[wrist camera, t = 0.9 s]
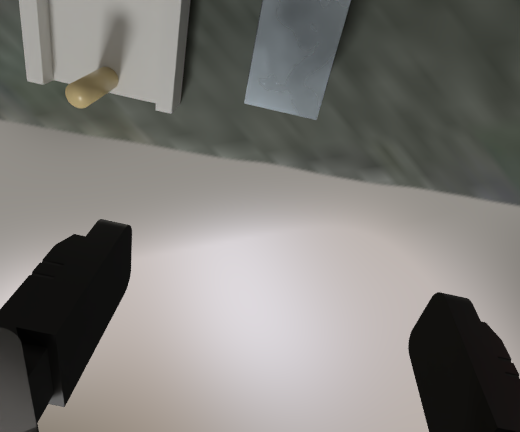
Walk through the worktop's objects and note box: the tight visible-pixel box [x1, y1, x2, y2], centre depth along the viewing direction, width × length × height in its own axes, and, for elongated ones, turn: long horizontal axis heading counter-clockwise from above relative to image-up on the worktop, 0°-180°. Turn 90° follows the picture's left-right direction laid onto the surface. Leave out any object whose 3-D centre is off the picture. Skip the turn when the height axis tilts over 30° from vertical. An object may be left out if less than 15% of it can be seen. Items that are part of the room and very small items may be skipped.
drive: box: [244, 0, 351, 120], centre depth 22 cm, size 7×4×5 cm, turn 168°
